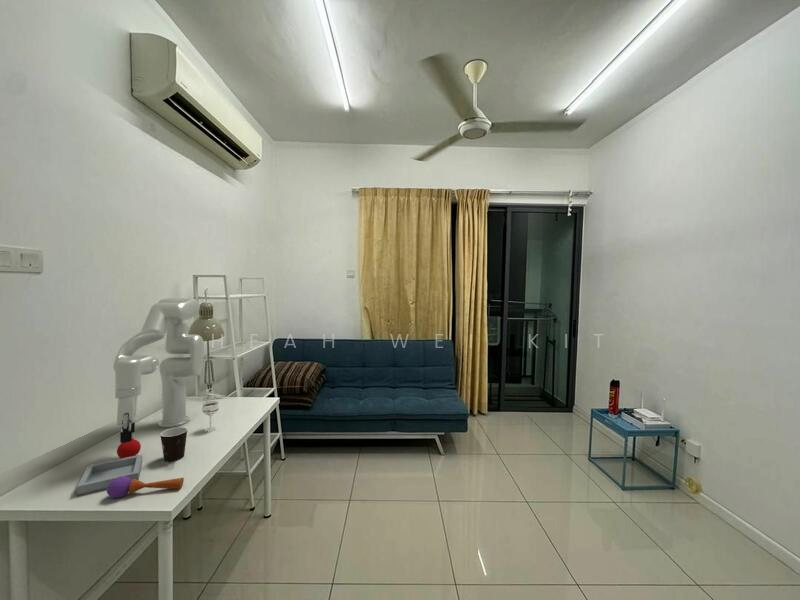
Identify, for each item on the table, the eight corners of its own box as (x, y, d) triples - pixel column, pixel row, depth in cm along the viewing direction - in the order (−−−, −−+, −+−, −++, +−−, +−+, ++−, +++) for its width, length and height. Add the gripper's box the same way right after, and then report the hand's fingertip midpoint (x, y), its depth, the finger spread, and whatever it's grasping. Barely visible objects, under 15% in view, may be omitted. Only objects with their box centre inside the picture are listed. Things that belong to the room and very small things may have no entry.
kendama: (178, 481, 106) (102, 486, 100) (178, 498, 107) (102, 503, 101) (185, 468, 111) (113, 472, 106) (184, 484, 112) (113, 488, 107)
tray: (88, 473, 116) (87, 465, 116) (142, 462, 124) (142, 454, 124) (77, 496, 104) (76, 486, 104) (138, 481, 112) (138, 472, 112)
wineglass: (210, 425, 159) (210, 400, 158) (222, 427, 157) (222, 401, 157) (198, 431, 152) (198, 405, 152) (210, 433, 150) (210, 406, 150)
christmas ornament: (145, 455, 129) (144, 430, 129) (124, 464, 123) (124, 437, 123) (133, 452, 132) (133, 427, 132) (112, 460, 125) (112, 434, 125)
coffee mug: (164, 454, 131) (164, 428, 131) (189, 450, 134) (189, 425, 134) (154, 469, 120) (154, 441, 120) (182, 464, 123) (182, 438, 123)
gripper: (118, 388, 132) (118, 431, 132) (111, 399, 117) (110, 448, 117) (142, 385, 136) (142, 428, 136) (138, 395, 121) (137, 443, 121)
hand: (127, 437), depth 126 cm, fingers open, 9 cm apart
